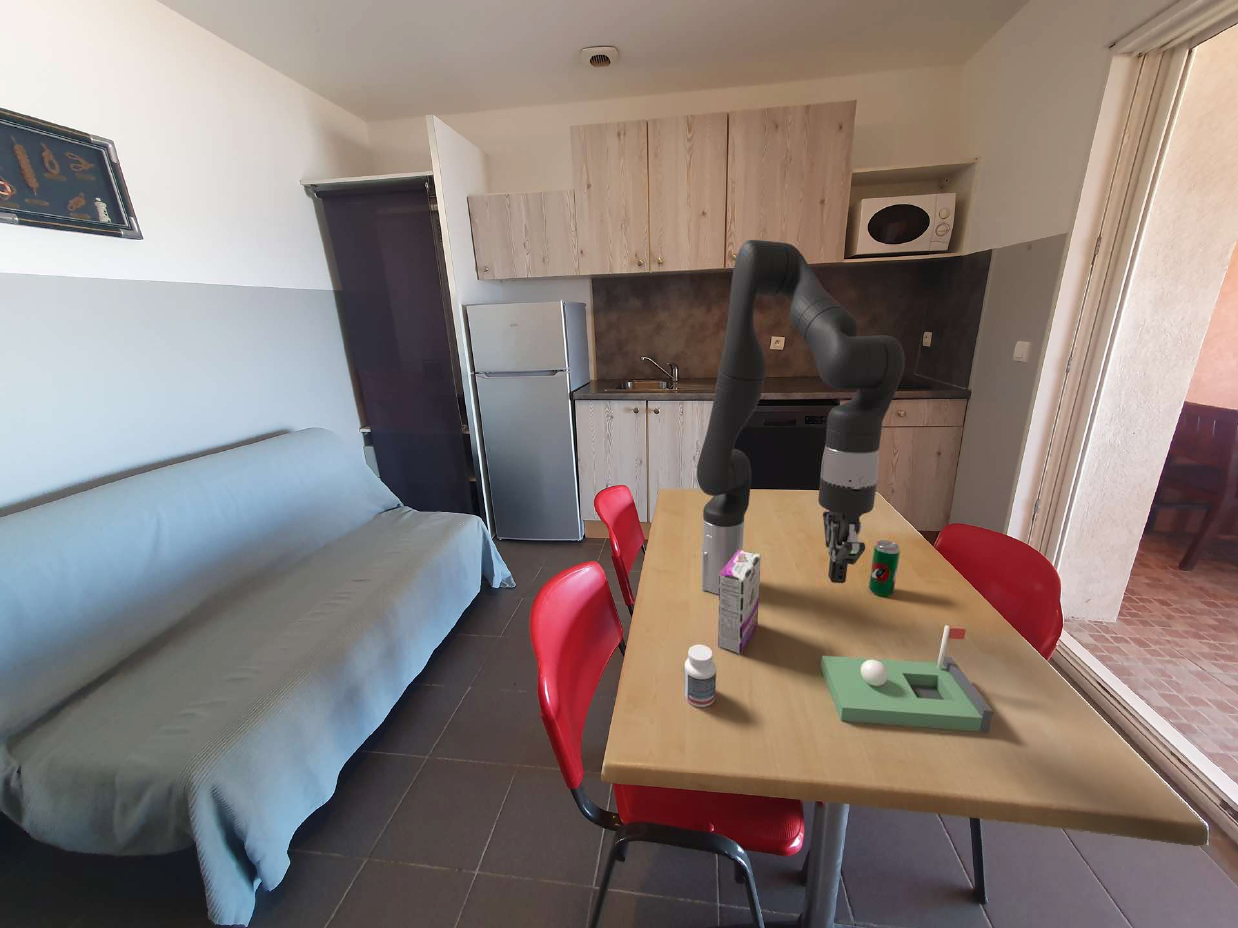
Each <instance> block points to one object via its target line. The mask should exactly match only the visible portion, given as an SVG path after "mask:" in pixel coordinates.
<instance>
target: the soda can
mask: <svg viewBox="0 0 1238 928" xmlns="http://www.w3.org/2000/svg"><path fill="white" fill-rule="evenodd" d="M872 554H873V555H872V560H871V568H870V575H869V583H868V588H869V590H870V592H871V593H873V594H874V595H876V596H878V597H879V596H880V597H886V598H887V597H890V596H892V595H893V594H894V592H895V586H896V580H897V574H898V573H897V572H898V568H899V561H900V560H899V559H900V554H901V549H900V547H899V545H898V543H897V542H894V541H890V540H878V541H876V544H875V545H874V546H873V553H872Z"/></svg>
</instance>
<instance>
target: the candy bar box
mask: <svg viewBox="0 0 1238 928" xmlns="http://www.w3.org/2000/svg"><path fill="white" fill-rule="evenodd" d="M761 556H762V555H761V554H760V553H755V552H751V551H746V550H744V549H743V550H738V551H737V552H736V553H735V555H734V556H733V557H732V559H731V560H730V561H729V562H728V564H727V565H726V566H725V568H724V569H723V570H722V571H721V573H720V574H719V594H718V631H717V632H718V640H717V641H718V642H717V644H718V645H717V646H718V648H721V649H723V650H726V651H729V652H733V653H735V654H737V655H742V654H743V652H744V650H745V648H746V646H747V644H748V643H749V640H750V638H751V637H752V635H753V633H754V631H755V629H756V628H757V626H758V622H759V621H758V620H759V603H760V601H759V598H760V577H761V558H762V557H761Z"/></svg>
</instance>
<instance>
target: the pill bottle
mask: <svg viewBox="0 0 1238 928" xmlns="http://www.w3.org/2000/svg"><path fill="white" fill-rule="evenodd" d="M687 653H688V655H687V659H686V660H685V662H684V668H683V669H684V675H683V676H684V678H683V679H684V683H683V684H684V686H683V687H684V689H683V690H684V691H683V692H684V698H685V699H686V701H687V702H688V703H689V704H690V705H693V706H694V707H697V708H698V707H699V708H705V707H709V706H710V705H712V704H713V703H715V700H716V696H717V695H716V694H717V693H716V692H717V691H716V689H717V666H716V662H715V661H714V658H713V651H712V649H711V648H710V647H708V646H707V645H705V644H695V645H693V646H690V647H689V649H688V652H687Z"/></svg>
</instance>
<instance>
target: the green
mask: <svg viewBox="0 0 1238 928" xmlns="http://www.w3.org/2000/svg"><path fill="white" fill-rule="evenodd" d="M966 631H967V628H966V627H952V626H950V625H947V624H946V625H944V629H943V635H942V640H941V643H940V644H941V645H940V650H939V655H938V659H937V662H933V661H932V662H928V661H915V660H914V661H913V660H898V659H884V658H883V659H882V658H881V659H880V658H867V657H866V658H864V657H863V658H862V657H847V656H833V655H832V656H829V655H822V656H821V663H820V669H821V672H822V674H823V677H824V681H825V682H826V685H827V687H828V690H829V693H830V695H831V698H832V700H833V703H834V706H835V708H836V712H837V714H838V716H839V719H840V722H841V721H842V722H855V723H865V724H877V725H891V726H893V725H894V726H905V727H906V726H907V727H919V728H929V729H940V730H941V729H942V730H943V729H944V730H957V731H969V732H979V733H989V728H990V726H991V720H992V716H993V713H994V711H993V709H992V708H991V707H990V705H989V704H988V703H987V701H986V700H985V699H984V698H983V696H982V695H981V693H979V691H978V690H977V688H976V687H975V686H974V685H973V683H972V682H971V680H970V679H968V677H967V675H966V674H965V673H964V672H963V670H962V669H961V668H960V667H959V665H958V664H957V663H956V662H955V660H954V659H953V658H952V656H946V651H947V650H946V649H947V644H948V640H950V639H951V640H952V639H953V640H965V636H966ZM867 660H877V661H879V662H881V663H882V664H883V665H884V666H885V668H886V669H887V672H888V678H887V681H886V682H885V683H884V684H883V685H880V686H873V685H870V684H869V683H867V682H866V681H865V680H864V679H863V677H862V675H861V666H862V664H863V663H864V662H865V661H867Z"/></svg>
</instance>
